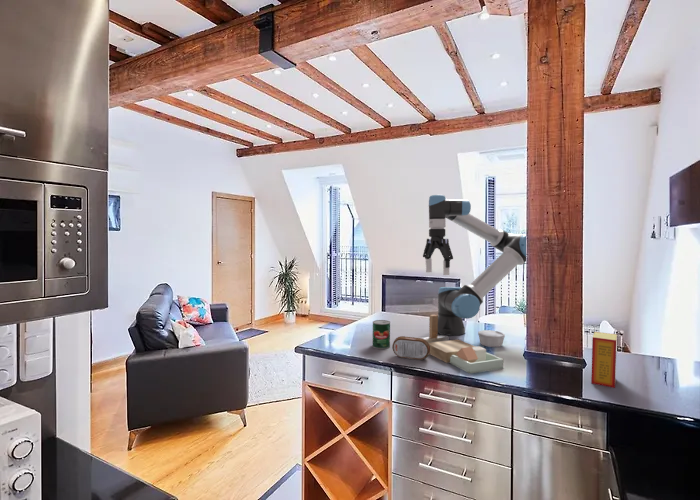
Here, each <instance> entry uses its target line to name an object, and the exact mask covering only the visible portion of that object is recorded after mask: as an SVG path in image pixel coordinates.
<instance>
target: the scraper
mask: <svg viewBox="0 0 700 500" xmlns="http://www.w3.org/2000/svg"><path fill="white" fill-rule="evenodd" d="M428 318H429V322H428V323H429V328H428V329H429V330H428V331H429V333H428V334H429V336H426V337H425V336H424V337H421V338H422V339H424V340H426V341H427V342H428V343H432V342H441V341H449V338H450V337H449V335H445V334H442V335H438V334H439V333H438V314H429V317H428Z"/></svg>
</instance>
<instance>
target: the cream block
mask: <svg viewBox="0 0 700 500" xmlns="http://www.w3.org/2000/svg"><path fill="white" fill-rule="evenodd" d="M472 348H473V350H474V352H475V354H476V355H477V357H478V359H477V360H476V361H475V362H480V361H486V352H487V349H486V348H485V347H482V346H478V345H477V346H475V347H472Z"/></svg>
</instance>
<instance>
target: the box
mask: <svg viewBox="0 0 700 500" xmlns="http://www.w3.org/2000/svg"><path fill="white" fill-rule="evenodd" d="M449 364H451V365H453V366H455V367H456V368H458V369H460V370H462V371H464V372H466V373H468V374H469V375H470V374H472V375H473V374H479V373H483V372H484V373H485V372H489V371H490V372H491V371H496V370H501V369H502V370H504V358H502V357H499V356H497V355H495V354H492V353H489V352H487V351H486V361H480V362H474V363H470V362H468V361H466V360H464V359H462V358H459V357H458V356H455V355H452V357H450V362H449Z"/></svg>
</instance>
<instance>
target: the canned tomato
mask: <svg viewBox="0 0 700 500" xmlns="http://www.w3.org/2000/svg"><path fill="white" fill-rule="evenodd" d="M390 347H391V321H389V320H385V319H376V320H373V321H372V348H373V349H379V350H385V349H389V348H390Z"/></svg>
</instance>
